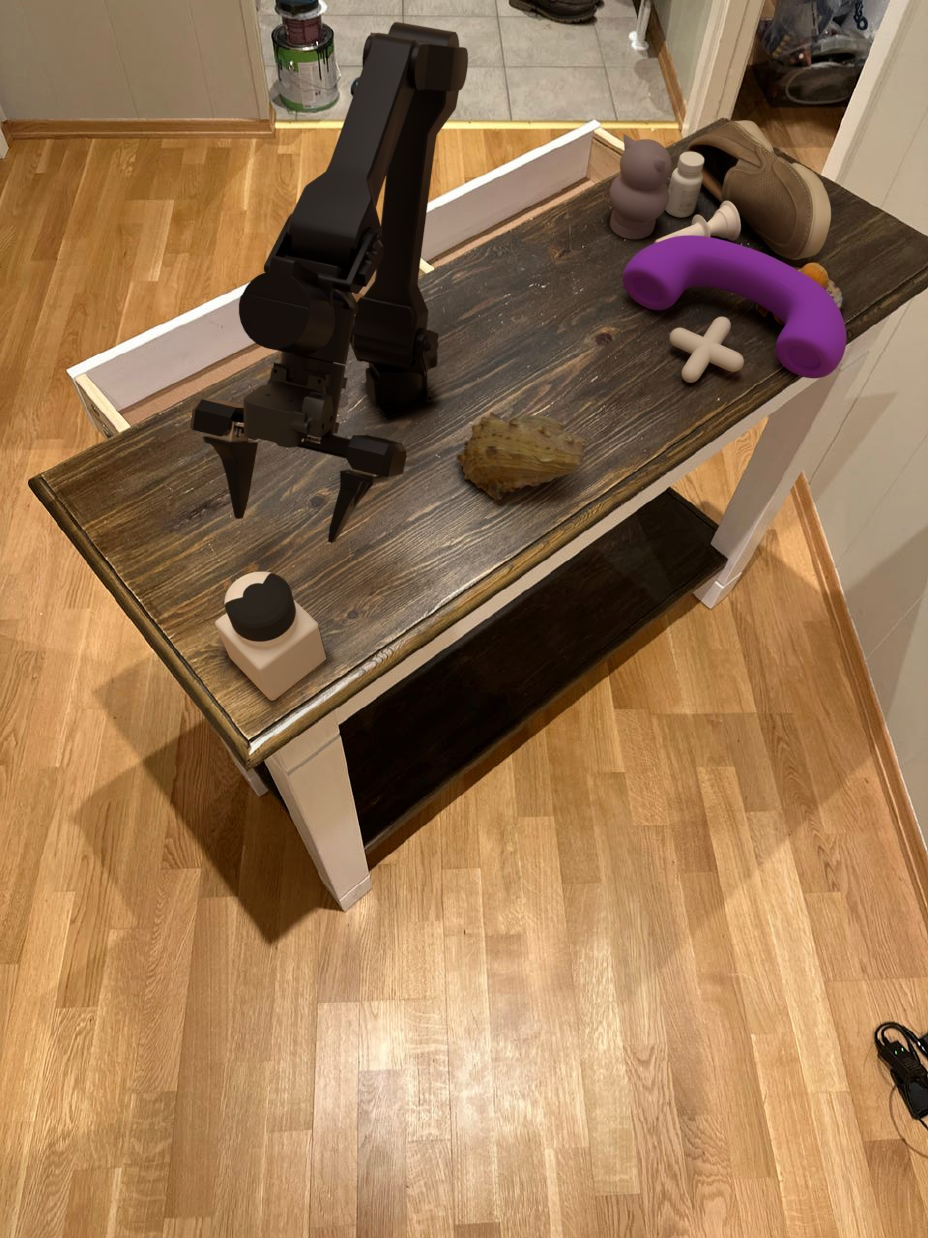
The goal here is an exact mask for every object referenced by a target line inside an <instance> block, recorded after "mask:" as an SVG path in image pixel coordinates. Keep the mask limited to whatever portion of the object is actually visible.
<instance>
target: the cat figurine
mask: <svg viewBox="0 0 928 1238" xmlns="http://www.w3.org/2000/svg"><path fill="white" fill-rule="evenodd" d="M622 134H623V135H622V136H623V147H624V148H623V149H624V150H623V152H622V154H621V155H620V156H621V157H620V160H619V171H620V173H619V174H618V175H617V176H616V177H615V178H614V179H613V181H612V183H611V185H610V188H609V202H610V205H611V206H612V208H613V210H612V211H611V214H610V215H611V216H610V220H609V227H610V228H611V231H612V232H614V233H615V234H616V235H617V236H619V237H621V238H623V239H628V240H641V239H644V238H648V237H649V236H650V235H651V234H652V233H653V232H654V230H655V225H656V219H657V218H659V217H660V216H661V215H662V214H664V212H665V211H666V210H665V209H666V206H667V204H668V201H669V193H668V189H669V187H668V185H667V184H666V182H667V180H668V178H669V176H670V174H671V171H672V159H671V155H670V153H669V151H668V149H666V147H665V146H664V145H663V144H662V143H660V142H659V141H656V140H654V139H650V138H643V139H638V140H634V139H633V138H632V137H630V136H628V135H627V134H625V133H622Z"/></svg>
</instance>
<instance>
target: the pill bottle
mask: <svg viewBox="0 0 928 1238" xmlns="http://www.w3.org/2000/svg"><path fill="white" fill-rule="evenodd" d="M703 164H704V158H703V156H702V155H700V154H698V153H696V152H687V151H685V152H682V153H681V154H680V155H679V157H678V161H677V166H676V168H675V169H673V172H672V173H671V177H670V181H669V185H668V193H669V201H668V204H667V206H666V209H665V210H664V211H665V212H666V213H668V215H670V216H671V217H676V218H682V219H683V218H687V217H690V216H691V215H693V214H694V212H695V210H696V207H697V202H698V198H699V196H700V191H701V187H702V185H703V184H702V180H703V175H702V173H701V171H702V168H703Z"/></svg>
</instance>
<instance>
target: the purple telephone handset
mask: <svg viewBox="0 0 928 1238" xmlns="http://www.w3.org/2000/svg"><path fill="white" fill-rule="evenodd" d="M791 266H792V265H788V264H787V263H785V262H783V261H781V260H778V259H777V258H775V257H772V256H770V255H768V254H766V253H764V252H761V251H758V250H756V249H753V248H750V247H747V246H744V245H741V244H737V243H735V242H731V241H728V240H724V239H721V238H715V237H712V236H710V237H705V236H695V235H684V236H677V237H672V238H668V239H665V240H662V241H659V242H657V243H652V244H650V245H648V246H647V247H645V248H643V249H641V250H640V251H638V252H637V253H636V254H635V255H634V256H633V257H631V259H630V260H629V262H628V263H627V265H626V266H625V268H624V270H623V273H622V284H623V287H624V289H625V291H626V292H627V294H628V295H629V296H630V298H631V299H632V300H633V301H635V303H637V304H638V305H640V306H642V307H644V308H646V309H649V310H652V311H665V310H667V309H669V308H671V307H672V306H673V305H675V303H676V302H677V301H678V300H679V299H680V298H681V296H682V294H683V293H684V292H685V291H686V290H688V289H690V288H694V287H695V288H696V287H704V288H712V289H718V290H721V291H725V292H729V293H732V294H735V295H737V296H739V297H743V298H745V299H747V300H750V301H751V302H754V303H755V304H759V305H761V306H763V307H764V308H766V309H768V310H769V312H771V313H772V314H775V315H776V316H777V317H778V318H779V319H781V321H782V322H783V323H784V324H783V325H784V327H783V328H782V330H781V332H780V333H779V334H778V337H777V339H776V341H775V345H774V346H775V348H774V349H775V355H776V358H777V360H778V361H779V363H780V364H781V365H782V366H783V367H784V368H785V369H786V370H788V371H789V372H791V373H793V374H794V375H797V376H798V377H801V378H805V379H822V378H825V377H826V376H829V375H831V374H832V373H833V372H834V371H835V370H836V369H837V368H838V366H839V365H840V363H841V361H842V360H843V358H844V356H845V355H844V354H845V351H846V347H847V329H846V324H845V321H844V318H843V315H842V313H841V312H842V311H841V312H840V310H839V308H838V306H837V304H836V303H835V301H834V299H833V298H832V297H831V296H830V294H829V293H828V292H827V291H826V290H825V289H824V288H823V287H822V286H820V285H819V284H818V283H817V282H815V281H814V280H812V279H811V278H809V277H808V276H806V275H805V274H803V273H801V272H800V271H798V270H796V269H794V268H792V267H791ZM731 328H732V324H731V321H730V319H729V318H728V317H725V316H718V317H716V318H715V319H714V320H713V321H712V323H710V325H709V327H708V328H707V330H706V331H705V333H704V335H703V336H702V335H699V334H698V333H695V332H693V331H691V330H688V329H686V328H684V327H676V328H674V329H672V331H671V332H670V334H669V342H670V344H671V345H672V346H673V347H675V348H677V349H678V350H679V349H680V350H682V351H684V352H686V353H688V354H691V355H690V356H689V358H688V359H687V361H686V363H685V365H683V367H682V370H681V378H682V379H683V381H684V382H686V383H689V384H692V383H695V382H697V381H698V380H699V379H700V378H701V376H702V374H703V373H704V372H705V370H706V369H707V367H708V365H709V364H712V365H715V366H717V367H719V368H722V369H723V370H725V371H727V372H731V373H736V372H738V371H740V370H741V369H742V368H743V367H744V364H745V359H744V356H743V355H742V354H741V353H739V352H738V351H735V350H734V349H731V348H729V347H726V346H724V345H722V344H723V342H724V340H725V339H726V337H727V335H728V334H729V332H730V330H731Z"/></svg>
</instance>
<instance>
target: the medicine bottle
mask: <svg viewBox="0 0 928 1238" xmlns="http://www.w3.org/2000/svg"><path fill="white" fill-rule="evenodd" d="M224 609H225V612H226V613H225V614H223V615H222V616H220V617H219V618H217V619H216V620H215V621H214V626H215V627H216V630H217V632H218V635H219V637H220V639H221V642H222V643H223V646H224V648H225V650H226V652H227V655H228V657H229V658H230V660H231V661H232V662H233V663H234V664H235V665H236V666H237V667H238V668H239V669H240V670H241V671H242V672H243V674H245V676H247V678H248V679H249V680H250V681H251V682H252V684H254V685H255V687H257V689H258V690H260V691H261V692H262V694H263V695H264V696H265V698H267V699H268V700H269V701H272V702H273V701H275V700H277V699H278V698H279V697H280V696H283V694H285V692H287V691H289V689H291V688H292V687H294V686H295V685H296V684H297V683H299V681H301V680H302V679H304V678H305V677H306V676H307V675H308V674H310V673H311V672H313V671H314V670H315V669H316V668H317V667H318V666H320V665H321V664H323V663H324V662H325V661H326V660H327V654H326V650H325V646H324V642H323V637H322V633H321V629H320V625H319V623H318V622H317V621H316V620H315V619H314V617H312V616H311V615H310V614H309V613H308V612H307V611H306V610H305V609H304V608H303V607H302V606H301V605H300V604H299V603H298V602H297V601H296V600H295V599H294V596H293V592H292V589H291V587H290V585H289V583H288V582H287V581H286V579H284V578H283V577H282V576H281V575H278V574H277V573H273V572H270V571H253V572H250V573H247V574H244V575H242V576H241V577H239V578H237V579H236V580H235V581H234V582H233V583H232V584H231V585H230V586H229V587H228V589H227V591H226V593H225V597H224Z"/></svg>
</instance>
